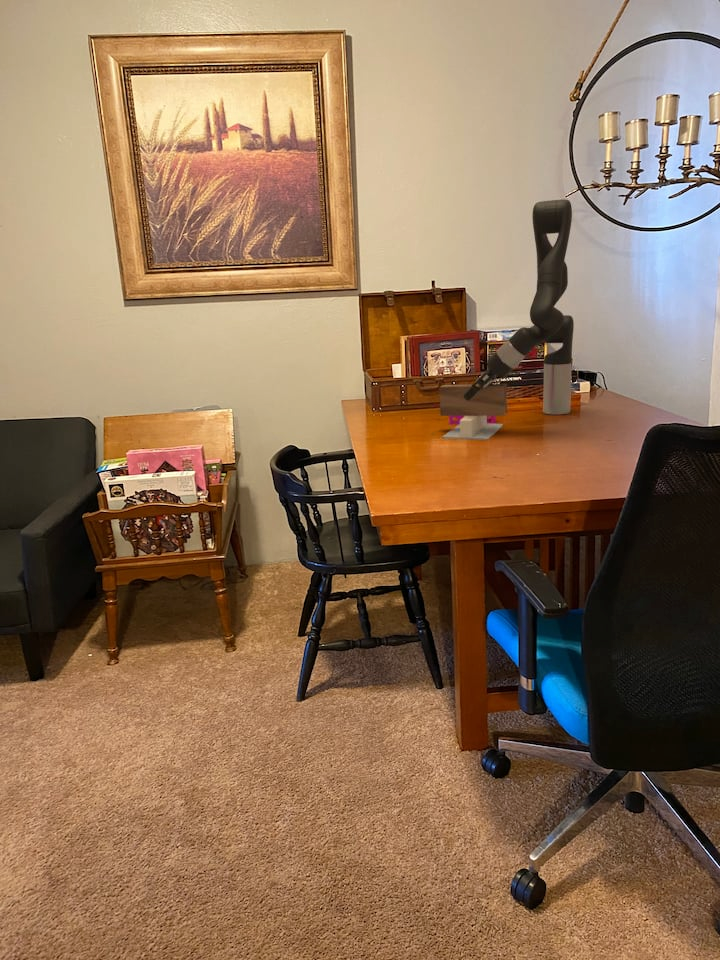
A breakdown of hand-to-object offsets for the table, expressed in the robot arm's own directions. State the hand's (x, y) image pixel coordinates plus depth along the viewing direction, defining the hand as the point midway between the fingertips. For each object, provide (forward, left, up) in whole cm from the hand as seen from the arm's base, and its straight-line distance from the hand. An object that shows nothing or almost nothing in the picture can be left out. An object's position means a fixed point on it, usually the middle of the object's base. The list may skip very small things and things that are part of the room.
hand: (469, 396), depth 214 cm
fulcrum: (0, +1, -12) cm, 12 cm away
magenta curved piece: (-15, -3, -12) cm, 19 cm away
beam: (0, +1, -6) cm, 6 cm away
